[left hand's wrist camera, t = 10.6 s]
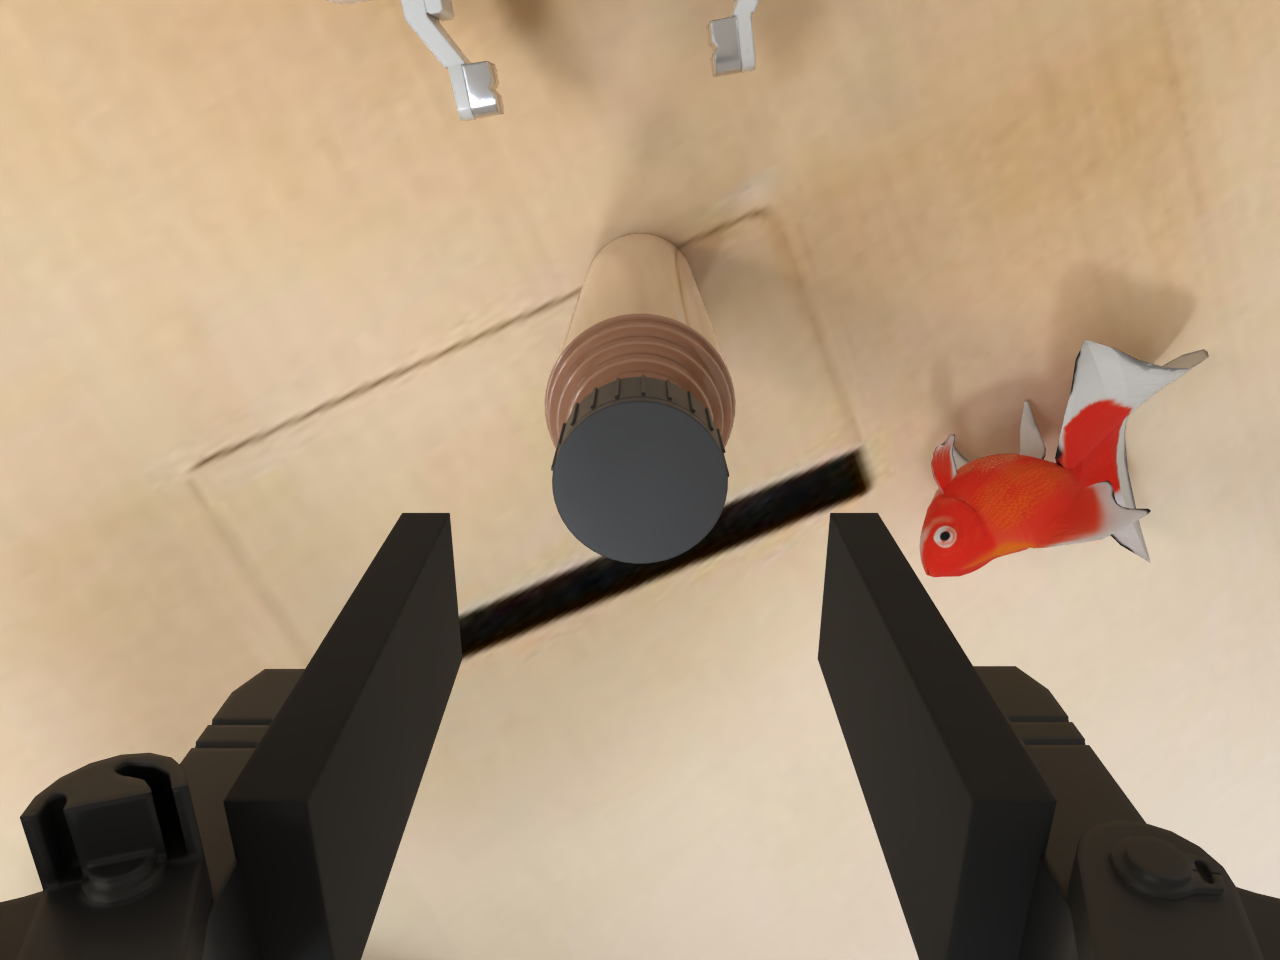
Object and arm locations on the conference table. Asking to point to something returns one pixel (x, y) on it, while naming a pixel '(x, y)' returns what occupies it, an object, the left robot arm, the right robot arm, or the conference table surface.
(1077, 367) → the fish
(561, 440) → the cap
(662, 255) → the bottle
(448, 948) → the conference table surface
